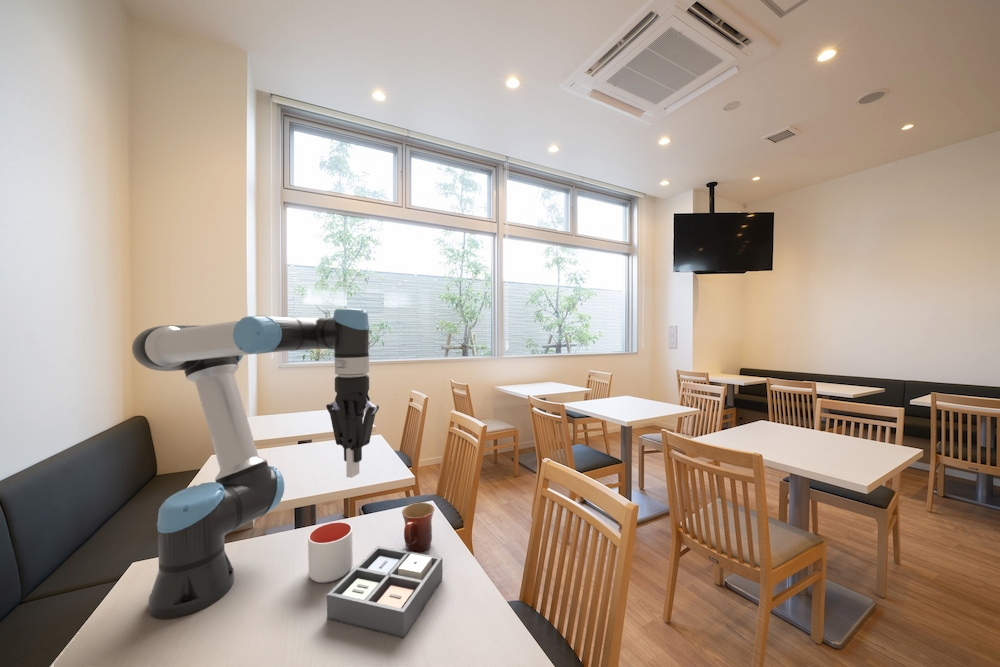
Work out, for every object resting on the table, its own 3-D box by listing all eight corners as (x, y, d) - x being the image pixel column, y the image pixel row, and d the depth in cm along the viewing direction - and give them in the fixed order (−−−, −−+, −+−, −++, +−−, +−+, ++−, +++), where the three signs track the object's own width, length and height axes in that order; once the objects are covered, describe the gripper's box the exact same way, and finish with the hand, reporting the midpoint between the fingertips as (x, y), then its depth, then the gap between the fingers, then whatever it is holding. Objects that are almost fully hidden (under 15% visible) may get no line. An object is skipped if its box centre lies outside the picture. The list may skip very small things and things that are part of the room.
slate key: (366, 584, 87) (365, 569, 87) (379, 569, 93) (379, 555, 93) (386, 588, 86) (386, 573, 86) (399, 573, 91) (399, 559, 91)
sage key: (341, 611, 79) (340, 594, 79) (357, 593, 85) (357, 577, 84) (363, 616, 78) (363, 599, 78) (379, 597, 83) (379, 582, 83)
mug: (410, 536, 109) (410, 501, 109) (439, 539, 107) (438, 504, 107) (390, 561, 97) (390, 522, 97) (422, 565, 95) (421, 525, 95)
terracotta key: (376, 619, 77) (376, 602, 77) (391, 600, 82) (391, 584, 82) (400, 625, 75) (400, 608, 75) (413, 605, 81) (413, 589, 81)
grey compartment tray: (327, 619, 78) (326, 594, 78) (377, 566, 95) (377, 545, 95) (403, 638, 73) (403, 612, 73) (442, 578, 90) (442, 557, 90)
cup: (352, 579, 90) (352, 538, 90) (306, 590, 87) (305, 547, 86) (352, 555, 100) (352, 518, 99) (310, 564, 96) (310, 526, 96)
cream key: (398, 582, 85) (398, 567, 85) (410, 567, 90) (410, 553, 90) (420, 587, 84) (420, 571, 83) (431, 571, 89) (431, 557, 89)
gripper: (317, 376, 85) (318, 478, 86) (366, 377, 82) (367, 484, 82) (339, 372, 92) (340, 466, 93) (385, 373, 89) (386, 472, 89)
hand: (353, 475), depth 87 cm, fingers closed
